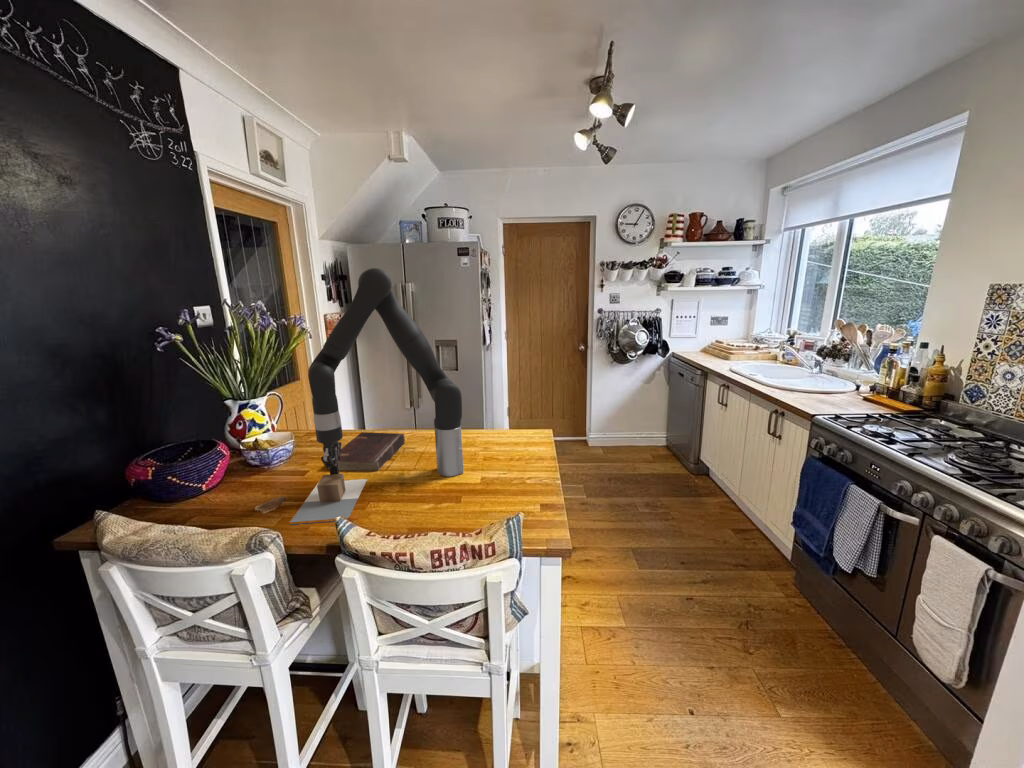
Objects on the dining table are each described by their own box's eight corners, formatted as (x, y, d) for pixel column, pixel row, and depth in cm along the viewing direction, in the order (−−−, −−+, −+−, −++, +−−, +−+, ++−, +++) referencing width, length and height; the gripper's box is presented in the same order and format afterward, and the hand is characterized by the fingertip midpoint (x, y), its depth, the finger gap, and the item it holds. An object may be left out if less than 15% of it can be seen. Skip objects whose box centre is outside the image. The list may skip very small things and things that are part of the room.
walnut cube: (342, 473, 129) (337, 484, 123) (345, 489, 131) (340, 501, 125) (323, 474, 128) (316, 485, 123) (326, 491, 130) (320, 502, 125)
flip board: (367, 481, 140) (367, 479, 139) (349, 520, 117) (348, 517, 116) (318, 485, 138) (318, 482, 138) (290, 525, 115) (289, 522, 114)
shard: (291, 496, 132) (290, 491, 131) (302, 503, 127) (301, 498, 127) (254, 510, 123) (253, 505, 123) (264, 519, 119) (263, 514, 118)
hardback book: (378, 474, 146) (376, 462, 145) (327, 473, 147) (326, 461, 146) (405, 443, 174) (404, 432, 173) (362, 443, 175) (361, 432, 174)
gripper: (334, 432, 120) (341, 485, 125) (346, 417, 133) (352, 466, 137) (307, 433, 120) (315, 487, 124) (322, 419, 132) (329, 468, 136)
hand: (334, 476), depth 131 cm, fingers closed
